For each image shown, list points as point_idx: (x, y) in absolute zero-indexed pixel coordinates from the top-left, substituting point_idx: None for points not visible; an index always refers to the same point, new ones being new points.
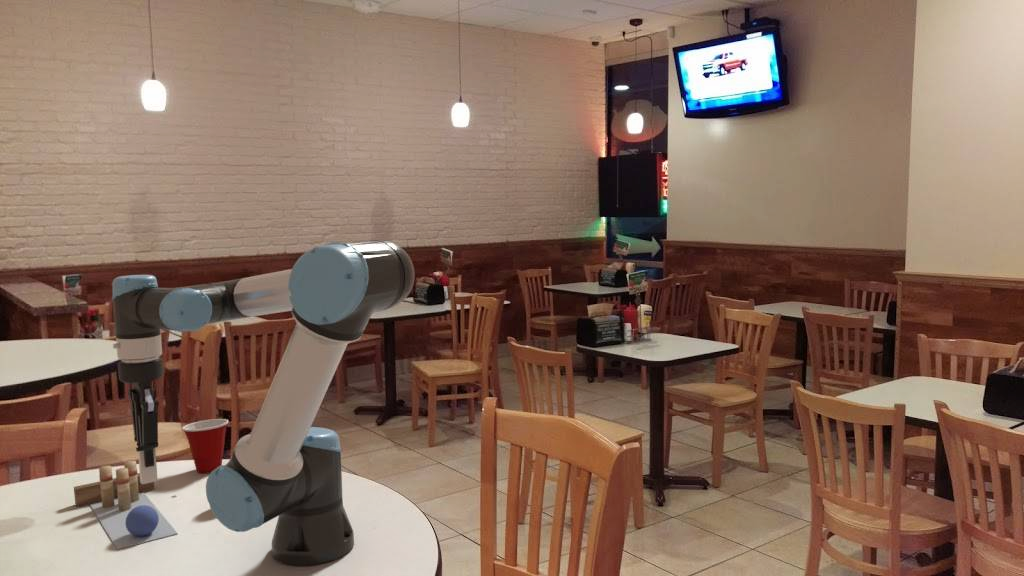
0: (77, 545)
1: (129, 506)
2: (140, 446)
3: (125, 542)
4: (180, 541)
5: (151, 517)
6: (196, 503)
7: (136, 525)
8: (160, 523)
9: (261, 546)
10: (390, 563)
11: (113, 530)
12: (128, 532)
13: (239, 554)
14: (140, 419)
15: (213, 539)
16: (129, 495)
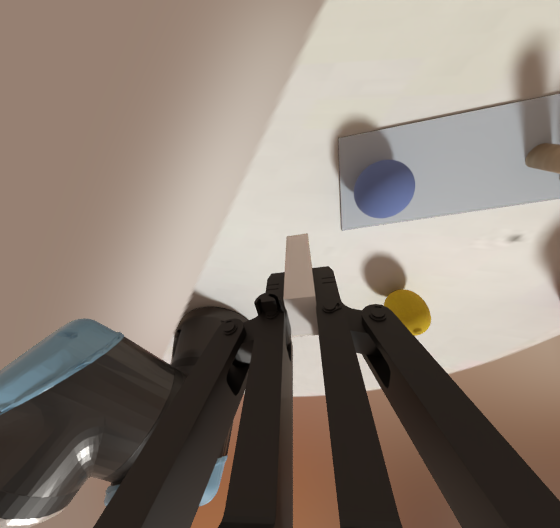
0: (418, 50)
1: (530, 165)
2: (268, 316)
3: (358, 153)
4: (312, 230)
5: (361, 208)
6: (446, 262)
7: (359, 180)
8: (401, 211)
9: (245, 302)
10: None
11: (436, 131)
12: (403, 159)
13: (233, 282)
14: (233, 478)
15: None
16: (554, 171)
